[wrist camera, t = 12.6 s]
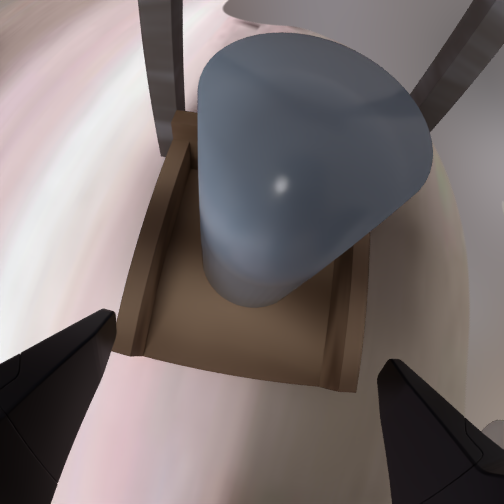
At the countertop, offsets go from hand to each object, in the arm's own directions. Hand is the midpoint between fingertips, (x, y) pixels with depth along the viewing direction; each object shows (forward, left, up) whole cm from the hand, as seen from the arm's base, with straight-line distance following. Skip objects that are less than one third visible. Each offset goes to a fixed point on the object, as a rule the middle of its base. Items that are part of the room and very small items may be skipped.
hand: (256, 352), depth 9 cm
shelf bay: (+4, -4, -8) cm, 10 cm away
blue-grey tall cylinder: (+3, -4, -8) cm, 10 cm away
